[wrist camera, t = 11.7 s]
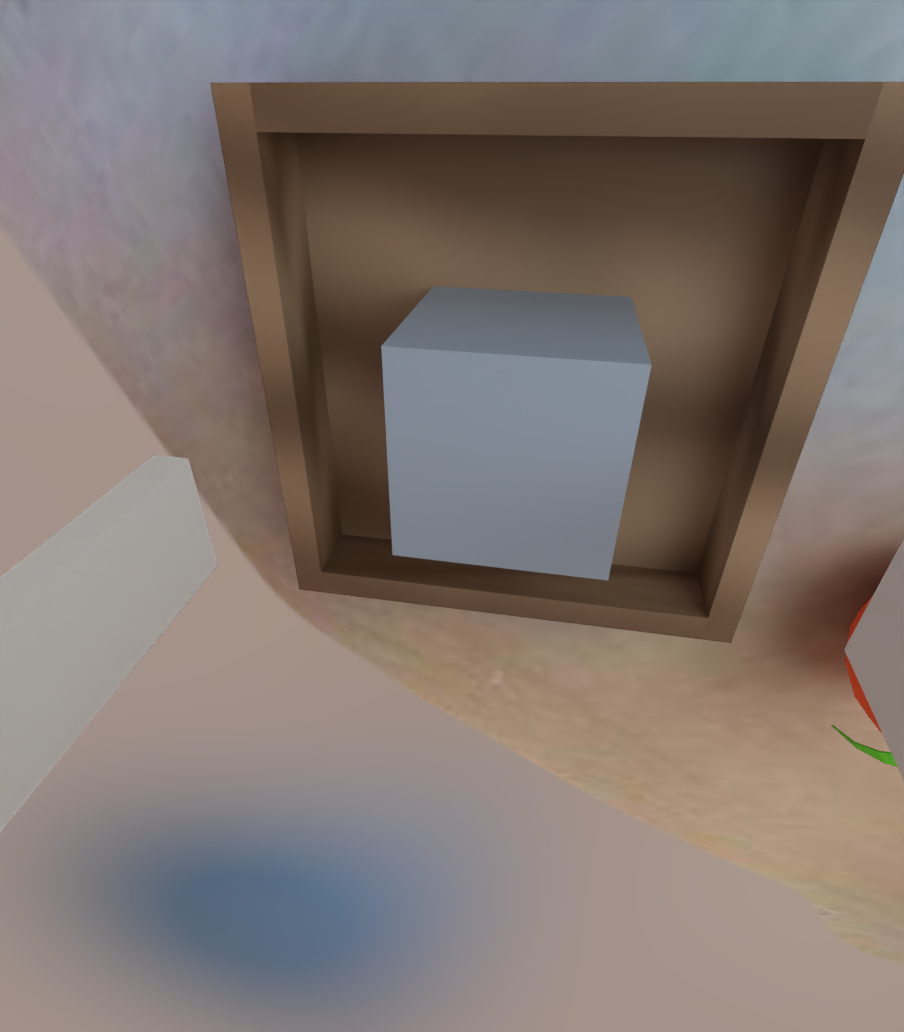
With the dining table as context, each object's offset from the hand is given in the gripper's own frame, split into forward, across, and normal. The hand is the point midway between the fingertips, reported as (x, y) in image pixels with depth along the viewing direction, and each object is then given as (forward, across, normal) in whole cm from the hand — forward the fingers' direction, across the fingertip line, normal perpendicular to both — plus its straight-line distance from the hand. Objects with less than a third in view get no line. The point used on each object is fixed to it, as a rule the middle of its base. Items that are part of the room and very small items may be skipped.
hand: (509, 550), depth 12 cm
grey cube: (+10, -1, -1) cm, 10 cm away
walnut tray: (+10, -1, 0) cm, 11 cm away
